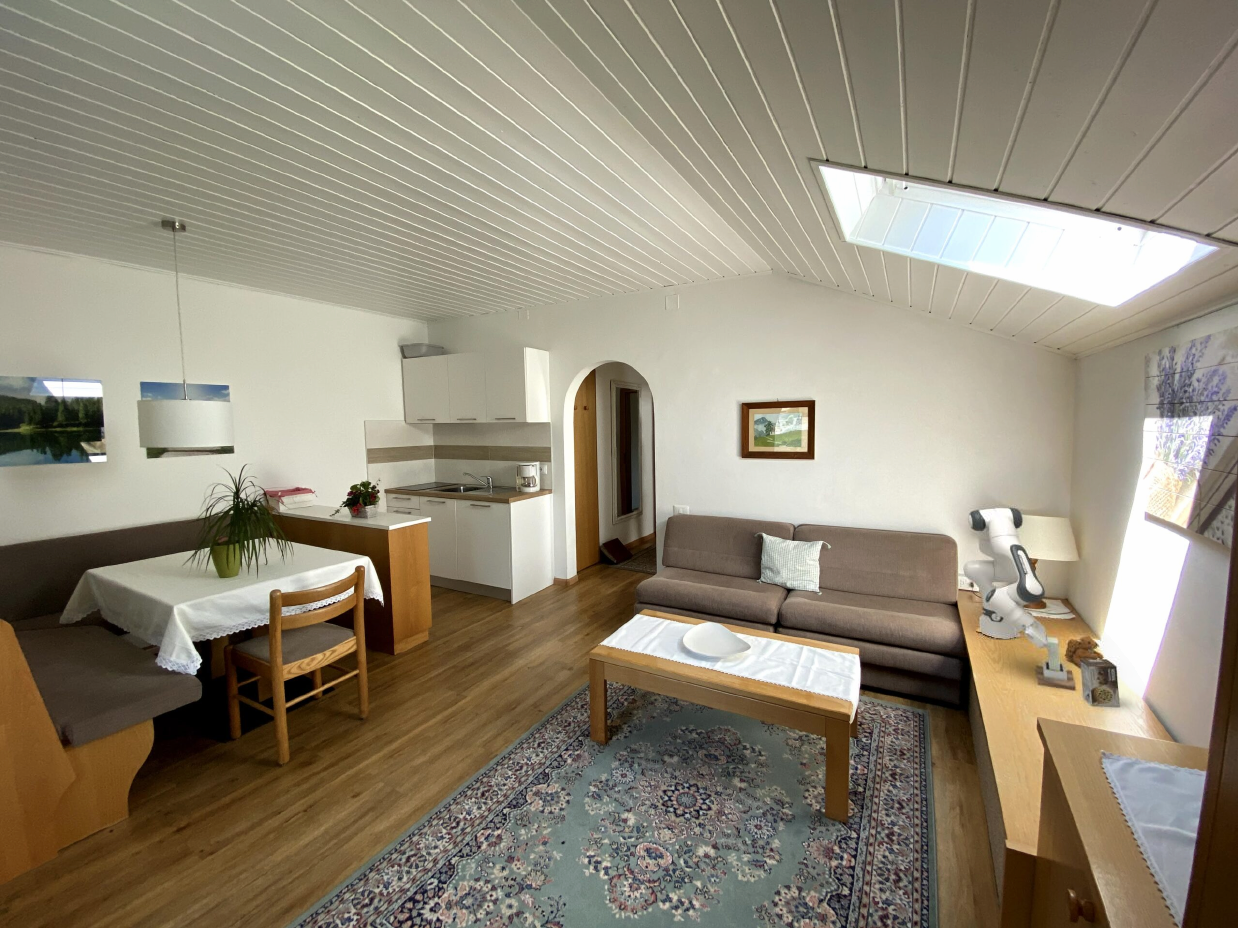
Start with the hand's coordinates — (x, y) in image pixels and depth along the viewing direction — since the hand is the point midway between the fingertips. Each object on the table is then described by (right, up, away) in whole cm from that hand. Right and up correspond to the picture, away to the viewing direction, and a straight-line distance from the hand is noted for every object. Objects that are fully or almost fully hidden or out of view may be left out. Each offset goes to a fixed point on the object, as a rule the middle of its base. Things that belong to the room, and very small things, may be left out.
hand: (1053, 647), depth 222 cm
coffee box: (+3, -15, -19) cm, 24 cm away
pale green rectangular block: (+1, -11, +1) cm, 11 cm away
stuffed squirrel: (+22, -12, +11) cm, 27 cm away
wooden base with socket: (+1, -14, +1) cm, 14 cm away
